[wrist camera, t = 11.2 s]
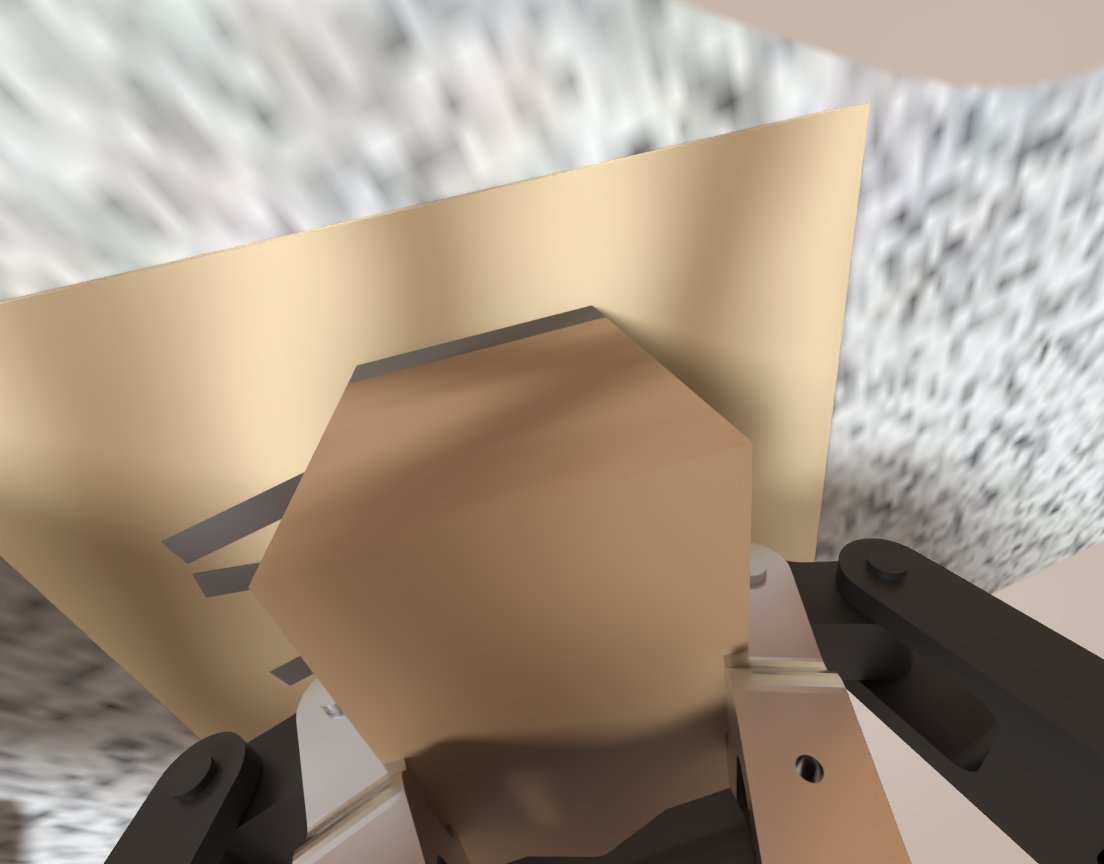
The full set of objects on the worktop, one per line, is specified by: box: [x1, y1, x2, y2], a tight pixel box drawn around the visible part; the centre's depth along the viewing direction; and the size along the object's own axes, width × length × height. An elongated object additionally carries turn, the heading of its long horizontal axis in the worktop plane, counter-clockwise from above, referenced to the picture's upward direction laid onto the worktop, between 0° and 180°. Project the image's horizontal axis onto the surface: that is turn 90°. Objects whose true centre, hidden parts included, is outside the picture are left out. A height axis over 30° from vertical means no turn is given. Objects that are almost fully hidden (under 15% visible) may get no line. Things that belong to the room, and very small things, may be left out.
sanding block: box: [248, 305, 753, 864], centre depth 9 cm, size 5×9×6 cm, turn 11°
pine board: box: [0, 103, 870, 743], centre depth 13 cm, size 20×14×2 cm
